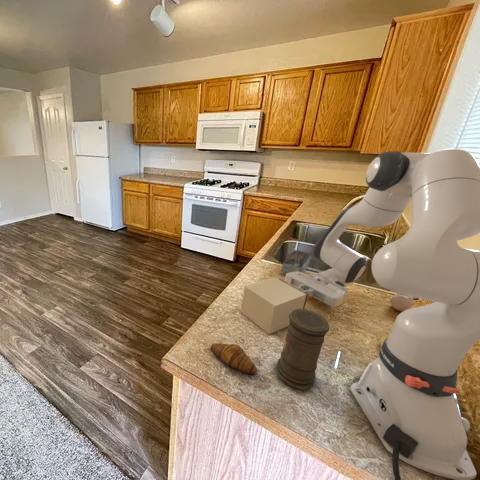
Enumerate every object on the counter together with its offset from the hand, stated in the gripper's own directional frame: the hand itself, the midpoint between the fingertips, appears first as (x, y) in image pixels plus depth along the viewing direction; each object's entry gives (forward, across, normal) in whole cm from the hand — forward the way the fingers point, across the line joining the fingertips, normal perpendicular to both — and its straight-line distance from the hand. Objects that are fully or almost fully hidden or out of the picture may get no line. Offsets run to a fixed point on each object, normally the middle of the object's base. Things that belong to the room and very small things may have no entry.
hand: (298, 292), depth 95 cm
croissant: (+38, +10, +6) cm, 40 cm away
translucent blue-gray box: (-26, -20, +6) cm, 33 cm away
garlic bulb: (-33, +18, +6) cm, 38 cm away
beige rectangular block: (+13, 0, +6) cm, 15 cm away
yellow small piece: (-8, +28, +6) cm, 30 cm away
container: (+27, +20, +6) cm, 34 cm away
